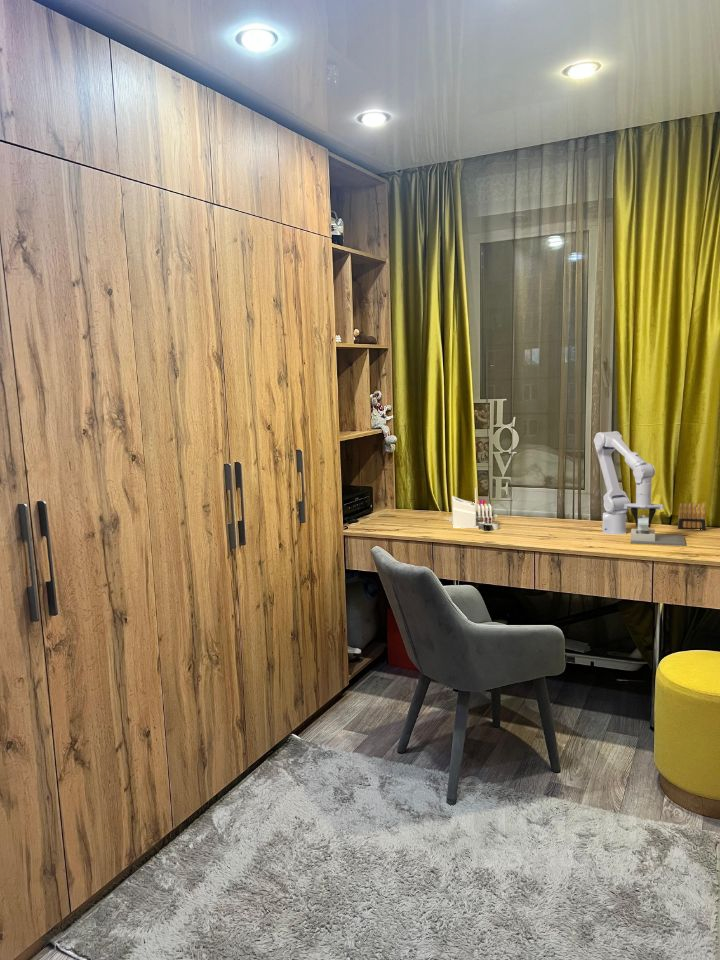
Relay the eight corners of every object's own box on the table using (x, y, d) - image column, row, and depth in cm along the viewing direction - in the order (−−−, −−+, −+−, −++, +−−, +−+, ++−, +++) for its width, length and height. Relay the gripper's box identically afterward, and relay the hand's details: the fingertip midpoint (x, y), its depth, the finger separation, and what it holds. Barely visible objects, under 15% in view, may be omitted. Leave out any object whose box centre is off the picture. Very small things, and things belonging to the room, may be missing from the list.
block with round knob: (637, 531, 278) (637, 518, 277) (637, 526, 287) (638, 513, 286) (648, 531, 276) (648, 518, 275) (648, 526, 286) (648, 513, 285)
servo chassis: (630, 544, 277) (630, 535, 276) (631, 535, 291) (631, 527, 291) (685, 546, 269) (685, 538, 269) (683, 537, 284) (683, 529, 283)
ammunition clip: (678, 530, 298) (678, 502, 296) (677, 529, 300) (678, 502, 298) (705, 531, 294) (706, 503, 292) (705, 530, 296) (706, 502, 294)
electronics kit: (506, 532, 308) (505, 497, 305) (448, 534, 310) (447, 499, 308) (495, 513, 352) (495, 482, 350) (445, 514, 354) (444, 484, 352)
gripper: (624, 494, 279) (623, 527, 281) (663, 495, 273) (662, 529, 275) (624, 492, 285) (624, 524, 287) (662, 492, 280) (662, 525, 282)
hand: (643, 526), depth 282 cm, fingers closed on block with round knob, 4 cm apart
